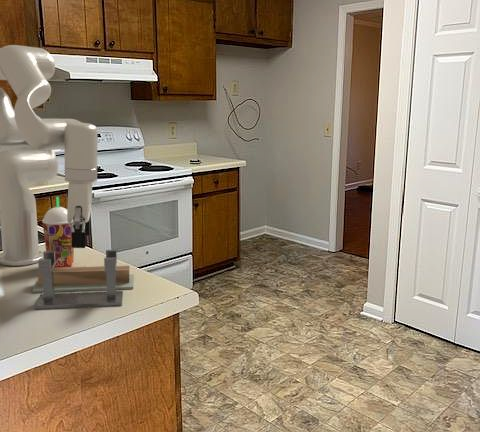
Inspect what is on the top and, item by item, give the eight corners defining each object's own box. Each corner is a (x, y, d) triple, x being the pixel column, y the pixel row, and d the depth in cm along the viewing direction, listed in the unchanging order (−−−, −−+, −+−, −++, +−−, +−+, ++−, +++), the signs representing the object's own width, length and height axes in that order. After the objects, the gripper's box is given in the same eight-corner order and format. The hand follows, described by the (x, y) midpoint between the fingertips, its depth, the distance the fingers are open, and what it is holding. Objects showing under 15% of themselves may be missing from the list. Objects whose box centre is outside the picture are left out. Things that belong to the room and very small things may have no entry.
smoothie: (66, 273, 133) (63, 201, 129) (38, 270, 135) (34, 198, 130) (82, 264, 141) (79, 195, 137) (55, 261, 143) (52, 193, 138)
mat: (39, 279, 128) (39, 277, 128) (133, 276, 133) (133, 274, 133) (32, 292, 119) (31, 290, 119) (133, 289, 124) (133, 286, 124)
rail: (41, 281, 126) (40, 268, 125) (129, 278, 130) (129, 265, 129) (38, 286, 122) (37, 272, 121) (129, 282, 127) (129, 270, 126)
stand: (40, 297, 117) (38, 251, 115) (122, 293, 121) (122, 249, 118) (34, 309, 110) (31, 260, 108) (121, 305, 114) (121, 258, 112)
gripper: (69, 167, 127) (69, 230, 132) (59, 181, 111) (60, 252, 115) (99, 168, 129) (98, 231, 133) (94, 182, 113) (93, 253, 117)
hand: (80, 241), depth 124 cm, fingers open, 9 cm apart
